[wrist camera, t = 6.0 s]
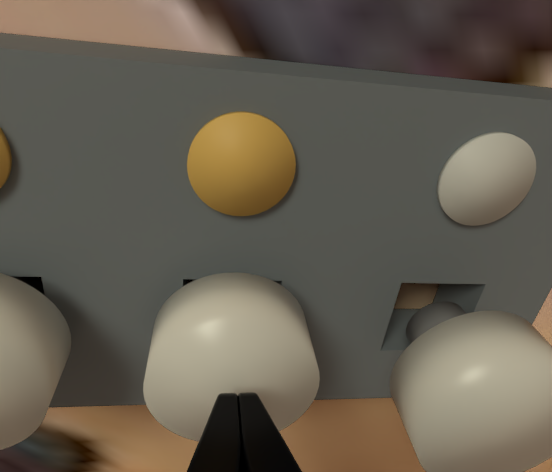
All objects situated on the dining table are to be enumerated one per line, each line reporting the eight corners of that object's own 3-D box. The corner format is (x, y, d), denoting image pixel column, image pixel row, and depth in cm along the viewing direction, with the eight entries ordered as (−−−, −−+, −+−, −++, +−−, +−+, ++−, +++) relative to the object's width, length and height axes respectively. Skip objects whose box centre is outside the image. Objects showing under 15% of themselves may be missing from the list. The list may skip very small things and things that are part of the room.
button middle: (287, 343, 14) (306, 440, 11) (162, 344, 13) (146, 447, 10) (304, 239, 12) (333, 322, 9) (158, 234, 11) (138, 323, 8)
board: (466, 353, 17) (497, 399, 15) (-73, 358, 14) (-118, 417, 12) (584, 91, 12) (654, 111, 10) (-215, 11, 9) (-332, 18, 7)
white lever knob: (474, 372, 14) (545, 479, 11) (357, 374, 13) (398, 488, 10) (523, 270, 12) (627, 367, 9) (387, 267, 11) (449, 371, 8)
